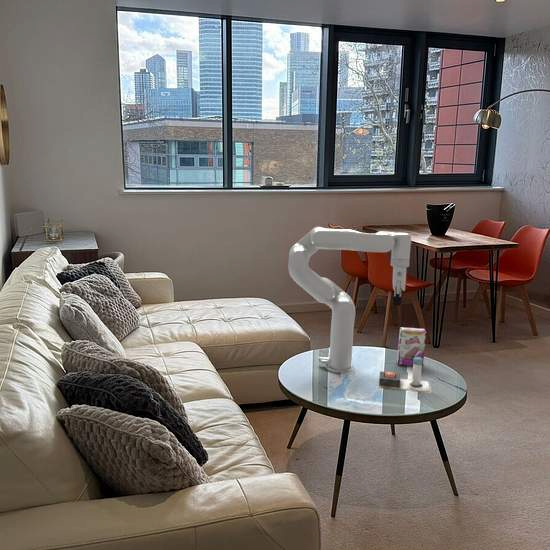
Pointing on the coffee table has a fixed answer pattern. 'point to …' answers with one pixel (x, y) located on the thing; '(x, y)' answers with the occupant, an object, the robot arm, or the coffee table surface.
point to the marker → (417, 371)
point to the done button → (389, 375)
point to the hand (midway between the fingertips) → (396, 305)
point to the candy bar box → (410, 345)
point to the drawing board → (402, 384)
